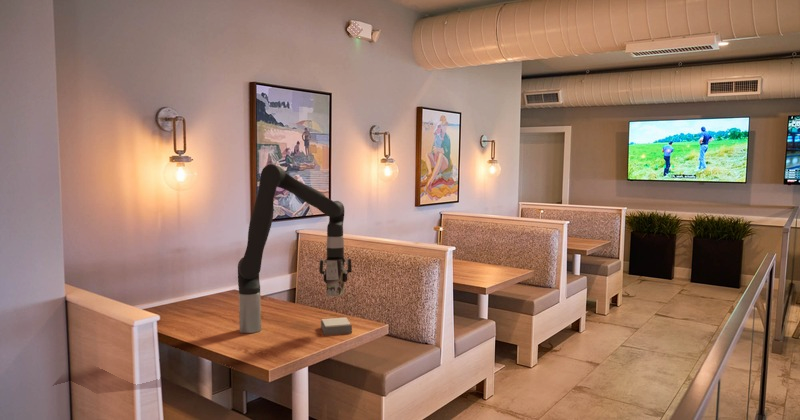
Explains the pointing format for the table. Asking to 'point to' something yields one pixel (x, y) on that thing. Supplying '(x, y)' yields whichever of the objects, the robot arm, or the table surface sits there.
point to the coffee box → (334, 277)
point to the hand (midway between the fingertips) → (335, 282)
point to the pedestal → (336, 326)
